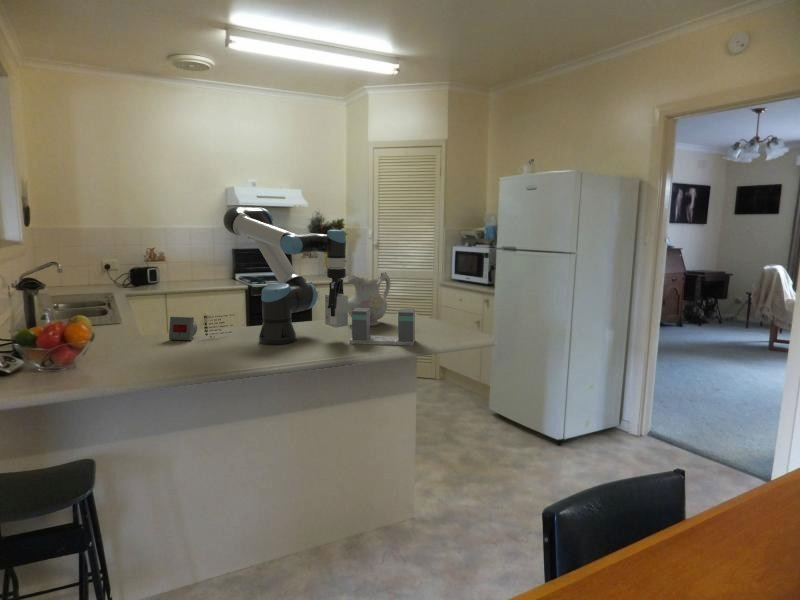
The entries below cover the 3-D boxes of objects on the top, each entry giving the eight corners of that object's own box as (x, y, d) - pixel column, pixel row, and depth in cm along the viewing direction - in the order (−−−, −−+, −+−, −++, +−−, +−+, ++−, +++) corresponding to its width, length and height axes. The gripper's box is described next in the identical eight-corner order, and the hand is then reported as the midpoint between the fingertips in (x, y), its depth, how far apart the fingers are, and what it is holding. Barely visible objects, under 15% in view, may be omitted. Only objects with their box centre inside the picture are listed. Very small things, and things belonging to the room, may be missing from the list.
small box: (348, 326, 213) (348, 295, 211) (335, 328, 209) (335, 296, 207) (337, 322, 219) (337, 292, 217) (324, 324, 215) (324, 293, 213)
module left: (352, 340, 209) (351, 311, 208) (356, 335, 218) (355, 307, 216) (366, 340, 209) (366, 311, 207) (370, 335, 217) (370, 308, 215)
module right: (398, 341, 207) (398, 312, 205) (400, 336, 215) (400, 308, 213) (413, 341, 207) (413, 312, 205) (414, 337, 215) (415, 309, 213)
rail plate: (349, 343, 210) (349, 340, 209) (354, 338, 218) (354, 335, 218) (412, 345, 207) (412, 342, 206) (414, 340, 215) (414, 336, 215)
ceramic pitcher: (376, 319, 263) (373, 271, 260) (400, 323, 248) (397, 271, 245) (340, 325, 249) (337, 274, 247) (363, 329, 234) (360, 275, 232)
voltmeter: (169, 343, 210) (167, 320, 208) (168, 337, 220) (166, 315, 218) (236, 337, 221) (235, 314, 220) (232, 331, 231) (231, 310, 230)
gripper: (339, 271, 198) (338, 327, 202) (351, 265, 220) (350, 316, 224) (320, 270, 199) (320, 326, 203) (334, 264, 221) (334, 315, 225)
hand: (336, 321), depth 214 cm, fingers closed on small box, 10 cm apart
